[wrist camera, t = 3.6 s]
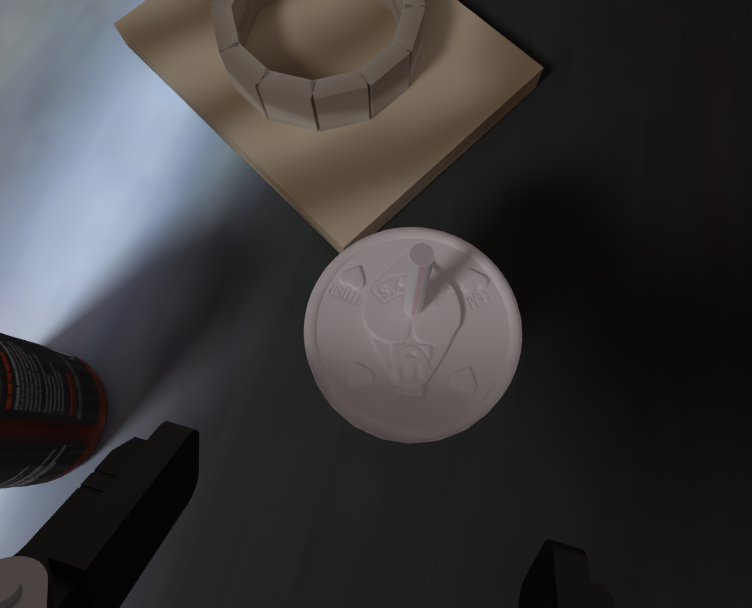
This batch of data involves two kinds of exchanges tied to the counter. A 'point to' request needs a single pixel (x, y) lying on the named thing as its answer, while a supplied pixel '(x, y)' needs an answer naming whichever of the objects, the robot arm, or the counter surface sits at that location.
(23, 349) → the supplement bottle
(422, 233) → the smoothie
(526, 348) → the counter surface
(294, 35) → the socket board
